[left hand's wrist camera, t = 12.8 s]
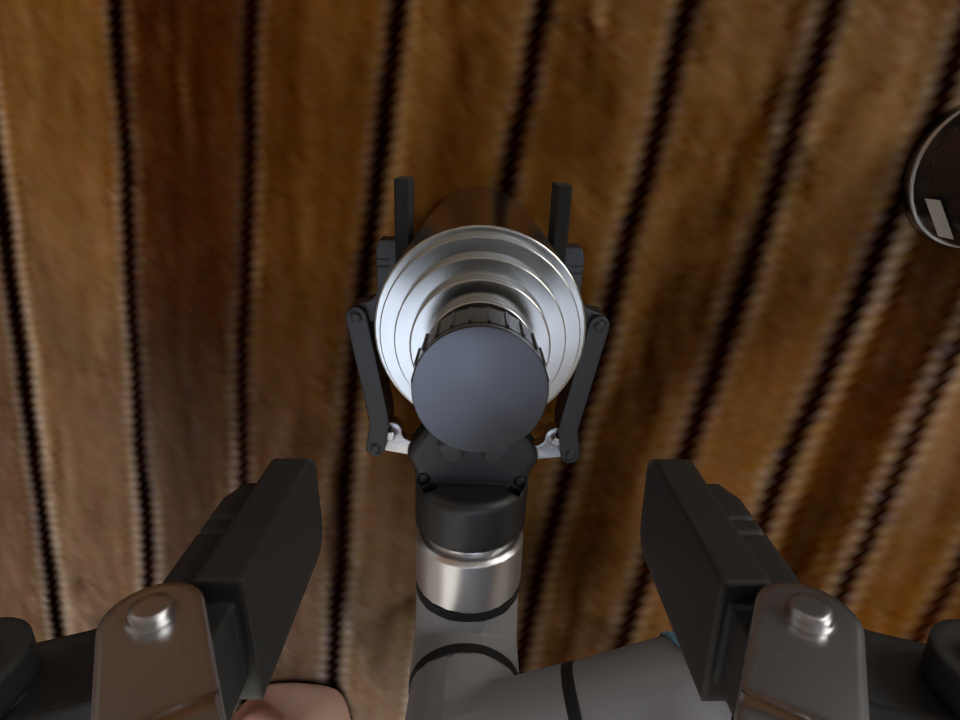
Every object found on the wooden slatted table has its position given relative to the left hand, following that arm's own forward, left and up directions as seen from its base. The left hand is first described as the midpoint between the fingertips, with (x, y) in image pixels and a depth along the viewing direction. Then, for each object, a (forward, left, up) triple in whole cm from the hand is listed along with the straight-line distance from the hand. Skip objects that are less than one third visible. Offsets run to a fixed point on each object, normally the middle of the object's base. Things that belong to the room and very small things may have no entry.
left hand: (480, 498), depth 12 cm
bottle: (0, 0, -30) cm, 30 cm away
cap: (0, 0, -6) cm, 6 cm away
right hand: (+1, -5, -24) cm, 24 cm away
